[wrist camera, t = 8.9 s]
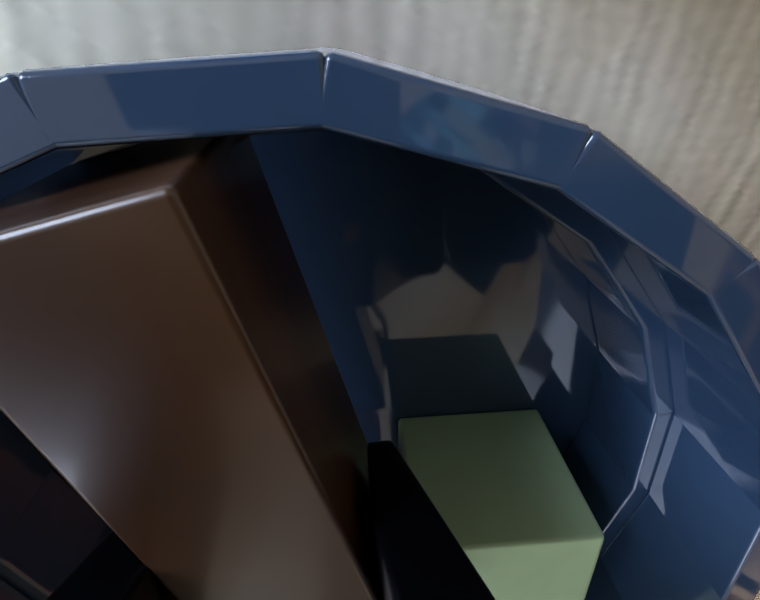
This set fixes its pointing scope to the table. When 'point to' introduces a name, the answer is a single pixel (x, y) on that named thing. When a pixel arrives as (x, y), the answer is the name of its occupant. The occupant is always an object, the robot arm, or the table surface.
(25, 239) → the dark brown block
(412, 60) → the table surface
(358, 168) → the bowl
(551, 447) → the sage block
